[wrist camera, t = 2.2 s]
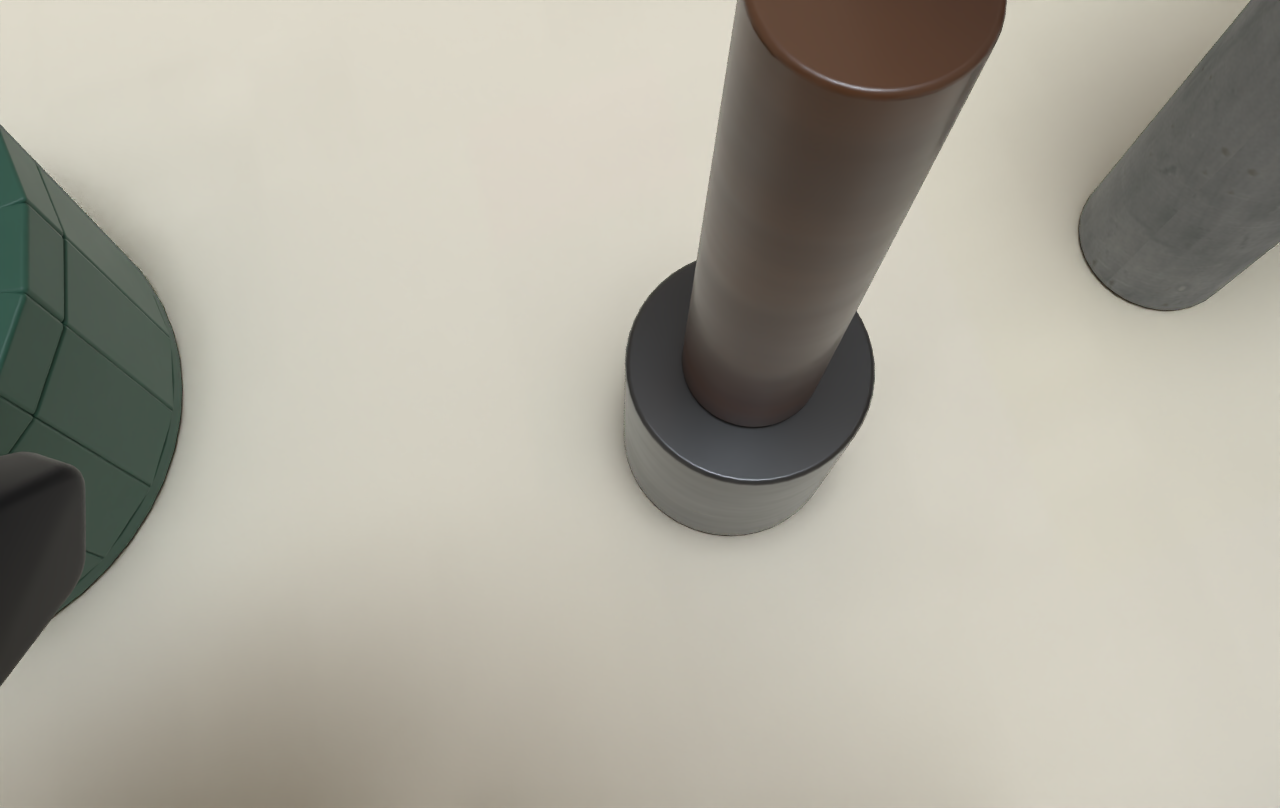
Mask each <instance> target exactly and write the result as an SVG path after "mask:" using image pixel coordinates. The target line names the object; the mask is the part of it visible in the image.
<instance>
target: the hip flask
mask: <svg viewBox="0 0 1280 808" xmlns="http://www.w3.org/2000/svg"><path fill="white" fill-rule="evenodd" d="M1079 236H1080V242H1081V247H1082V250H1083V253H1084V255H1085V258H1086V260H1087V262H1088V264H1089V265H1090V267H1091V269H1092V270H1093V272H1094V273H1095V274H1096V276H1097V277H1098V278H1099V279H1100V280H1101V281H1102V282H1103V283H1104V284H1105V285H1106V286H1107V287H1108V288H1110V289H1111V290H1112V291H1113V292H1115V293H1116V294H1117V295H1119V296H1121V297H1123V298H1124V299H1126V300H1128V301H1130V302H1132V303H1135V304H1138V305H1141V306H1144V307H1147V308H1153V309H1159V310H1178V309H1183V308H1188V307H1192V306H1194V305H1197V304H1199V303H1201V302H1204V301H1205V300H1207V299H1208V298H1209V297H1211V296H1212V295H1213V294H1215V293H1216V292H1217V291H1219V290H1220V289H1221V288H1222V287H1224V286H1225V285H1226V284H1227V283H1229V282H1230V281H1231V280H1232V279H1234V278H1235V277H1236V276H1237V275H1239V274H1240V273H1241V272H1242V271H1244V270H1245V269H1246V268H1247V267H1249V266H1250V265H1251V264H1252V263H1254V262H1255V261H1256V260H1257V259H1259V258H1260V257H1261V256H1262V255H1264V254H1265V253H1266V252H1267V251H1269V250H1270V249H1271V248H1272V247H1274V246H1275V245H1276V244H1277V243H1279V242H1280V0H1251V1H1250V2H1249V3H1248V4H1247V6H1246V7H1245V8H1244V9H1243V10H1242V12H1241V13H1240V14H1239V15H1238V17H1237V18H1236V19H1235V20H1234V21H1233V23H1232V24H1231V25H1230V26H1229V28H1228V29H1227V30H1226V31H1225V32H1224V34H1223V35H1222V36H1221V37H1220V38H1219V40H1218V41H1217V42H1216V43H1215V45H1214V46H1213V47H1212V48H1211V49H1210V51H1209V52H1208V53H1207V54H1206V56H1205V57H1204V58H1203V59H1202V60H1201V62H1200V63H1199V64H1198V65H1197V66H1196V68H1195V69H1194V70H1193V71H1192V73H1191V74H1190V75H1189V76H1188V77H1187V79H1186V80H1185V81H1184V82H1183V83H1182V85H1181V86H1180V87H1179V88H1178V90H1177V91H1176V92H1175V93H1174V94H1173V96H1172V97H1171V98H1170V99H1169V101H1168V102H1167V103H1166V104H1165V105H1164V107H1163V108H1162V109H1161V110H1160V111H1159V113H1158V114H1157V115H1156V116H1155V118H1154V119H1153V120H1152V121H1151V122H1150V124H1149V125H1148V126H1147V127H1146V129H1145V130H1144V131H1143V132H1142V133H1141V135H1140V136H1139V137H1138V138H1137V139H1136V141H1135V142H1134V143H1133V144H1132V146H1131V147H1130V148H1129V149H1128V150H1127V152H1126V153H1125V154H1124V155H1123V157H1122V158H1121V159H1120V160H1119V161H1118V163H1117V164H1116V165H1115V166H1114V167H1113V169H1112V170H1111V171H1110V172H1109V174H1108V175H1107V176H1106V177H1105V178H1104V180H1103V181H1102V182H1101V183H1100V185H1099V186H1098V187H1097V188H1096V189H1095V191H1094V192H1093V193H1092V194H1091V195H1090V197H1089V199H1088V200H1087V202H1086V204H1085V206H1084V207H1083V211H1082V214H1081V218H1080V226H1079Z"/></svg>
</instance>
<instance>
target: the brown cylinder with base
mask: <svg viewBox="0 0 1280 808" xmlns="http://www.w3.org/2000/svg"><path fill="white" fill-rule="evenodd" d="M1006 4H1007V0H737V4H736V11H735V17H734V23H733V30H732V36H731V43H730V49H729V56H728V62H727V69H726V75H725V81H724V88H723V94H722V101H721V107H720V114H719V120H718V126H717V133H716V139H715V146H714V152H713V159H712V165H711V171H710V178H709V184H708V191H707V197H706V204H705V210H704V217H703V223H702V229H701V236H700V242H699V249H698V255H697V261H694V262H692V263H690V264H688V265H686V266H684V267H682V268H681V269H679V270H677V271H676V272H674V273H673V274H671V275H670V276H669V277H668V278H666V279H665V280H664V281H663V282H661V283H660V284H659V285H658V286H657V288H656V289H655V290H654V291H653V292H652V293H651V294H650V295H649V297H648V298H647V299H646V301H645V302H644V304H643V305H642V306H641V308H640V310H639V312H638V314H637V316H636V318H635V320H634V322H633V325H632V328H631V331H630V333H629V337H628V342H627V347H626V358H625V395H624V443H625V450H626V455H627V459H628V462H629V465H630V468H631V471H632V473H633V475H634V477H635V479H636V481H637V483H638V484H639V486H640V487H641V489H642V490H643V492H644V493H645V494H646V496H647V497H648V498H649V499H650V500H651V501H652V502H653V503H654V504H655V505H656V506H657V507H658V508H659V509H660V510H661V511H663V512H664V513H665V514H666V515H668V516H669V517H671V518H673V519H674V520H676V521H677V522H679V523H681V524H683V525H686V526H688V527H690V528H693V529H696V530H699V531H702V532H706V533H711V534H716V535H731V536H732V535H745V534H750V533H755V532H760V531H762V530H765V529H768V528H771V527H773V526H775V525H777V524H779V523H781V522H783V521H785V520H786V519H788V518H789V517H791V516H792V515H794V514H795V513H796V512H797V511H798V510H799V509H800V508H802V507H803V506H804V505H805V504H806V503H807V501H808V500H809V499H810V498H811V497H812V495H813V494H814V493H815V491H816V490H817V489H818V487H819V486H820V484H821V483H822V482H823V480H824V479H825V477H826V476H827V475H828V473H829V472H830V470H831V469H832V468H833V466H834V465H835V463H836V462H837V461H838V459H839V458H840V456H841V455H842V454H843V452H844V451H845V449H846V448H847V447H848V445H849V444H850V442H851V441H852V440H853V438H854V437H855V435H856V433H857V432H858V430H859V429H860V427H861V425H862V424H863V421H864V419H865V417H866V415H867V412H868V410H869V407H870V403H871V399H872V396H873V390H874V382H875V363H874V356H873V350H872V346H871V342H870V339H869V336H868V333H867V331H866V328H865V326H864V324H863V322H862V319H861V318H860V316H859V314H858V313H857V309H858V307H859V305H860V303H861V301H862V299H863V297H864V295H865V293H866V291H867V289H868V288H869V286H870V284H871V282H872V280H873V278H874V276H875V274H876V272H877V270H878V268H879V266H880V265H881V263H882V261H883V259H884V257H885V255H886V253H887V251H888V249H889V247H890V245H891V243H892V242H893V240H894V238H895V236H896V234H897V232H898V230H899V228H900V226H901V224H902V222H903V220H904V219H905V217H906V215H907V213H908V211H909V209H910V207H911V205H912V203H913V201H914V199H915V197H916V196H917V194H918V192H919V190H920V188H921V186H922V184H923V182H924V180H925V178H926V176H927V174H928V173H929V171H930V169H931V167H932V165H933V163H934V161H935V159H936V157H937V155H938V153H939V151H940V150H941V148H942V146H943V144H944V142H945V140H946V138H947V136H948V134H949V132H950V130H951V128H952V127H953V125H954V123H955V121H956V119H957V117H958V115H959V113H960V111H961V109H962V107H963V105H964V104H965V102H966V100H967V98H968V96H969V94H970V92H971V90H972V88H973V86H974V84H975V82H976V81H977V79H978V77H979V75H980V73H981V71H982V69H983V67H984V65H985V63H986V61H987V59H988V58H989V56H990V54H991V52H992V50H993V48H994V46H995V44H996V42H997V40H998V37H999V35H1000V33H1001V31H1002V27H1003V23H1004V19H1005V14H1006Z"/></svg>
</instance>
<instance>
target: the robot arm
mask: <svg viewBox="0 0 1280 808" xmlns="http://www.w3.org/2000/svg"><path fill="white" fill-rule="evenodd" d="M85 557H86V508H85V481H84V478H83V476H82V474H81V472H80V471H79V470H78V469H77V468H76V467H74V466H73V465H71V464H68V463H65V462H62V461H58V460H55V459H52V458H49V457H46V456H43V455H40V454H37V453H32V452H16V453H11V454H7V455H2V456H0V686H1V685H2V684H3V682H4V681H5V680H6V678H7V677H8V676H9V674H10V673H11V672H12V670H13V669H14V668H15V666H16V665H17V664H18V662H19V661H20V660H21V659H22V657H23V656H24V655H25V653H26V652H27V651H28V649H29V648H30V647H31V645H32V644H33V643H34V641H35V640H36V639H37V637H38V636H39V635H40V633H41V632H42V631H43V630H44V628H45V627H46V626H47V624H48V623H49V622H50V620H51V619H52V618H53V616H54V615H55V614H56V612H57V611H58V610H59V608H60V607H61V606H62V604H63V603H64V602H65V600H66V599H67V598H68V597H69V595H70V594H71V592H72V591H73V589H74V588H75V586H76V585H77V583H78V581H79V579H80V577H81V574H82V571H83V568H84V564H85Z"/></svg>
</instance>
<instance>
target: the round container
mask: <svg viewBox="0 0 1280 808" xmlns="http://www.w3.org/2000/svg"><path fill="white" fill-rule="evenodd" d="M181 400H182V381H181V369H180V358H179V354H178V350H177V346H176V342H175V337H174V333H173V330H172V327H171V325H170V323H169V320H168V318H167V315H166V313H165V310H164V308H163V305H162V304H161V302H160V300H159V299H158V297H157V295H156V294H155V292H154V290H153V289H152V287H151V285H150V284H149V282H148V281H147V279H146V278H145V276H144V275H143V274H142V272H141V271H140V269H139V268H138V267H137V266H136V265H135V264H134V263H133V262H132V261H131V260H130V259H129V258H128V257H127V256H126V255H125V254H124V253H123V252H122V251H121V250H120V249H119V248H118V247H117V246H116V244H115V243H114V242H113V241H112V240H111V239H110V238H109V237H108V236H107V235H106V234H105V233H104V232H103V231H102V230H101V229H100V228H99V227H98V226H97V225H96V224H95V223H94V222H93V221H92V219H91V218H90V217H89V216H88V215H87V214H86V213H85V212H84V211H83V210H82V209H81V208H80V207H79V206H78V205H77V204H76V203H75V202H74V201H73V200H72V199H71V198H70V197H69V195H68V194H67V193H66V192H65V191H64V190H63V189H62V188H61V187H60V186H59V185H58V184H57V183H56V182H55V181H54V180H53V179H52V178H51V177H50V176H49V175H48V174H47V173H46V172H45V170H44V169H43V168H42V167H41V166H40V165H39V164H38V163H37V162H36V161H35V160H34V159H33V158H32V157H31V156H30V155H29V154H28V153H27V152H26V151H25V150H24V149H23V148H22V147H21V145H20V144H19V143H18V142H17V141H16V140H15V139H14V138H13V137H12V136H11V135H10V134H9V133H8V132H7V131H6V130H5V129H4V128H3V127H2V126H1V125H0V456H2V455H7V454H11V453H16V452H32V453H37V454H40V455H43V456H46V457H49V458H52V459H55V460H58V461H62V462H65V463H68V464H71V465H73V466H74V467H76V468H77V469H78V470H79V471H80V472H81V474H82V476H83V478H84V481H85V508H86V557H85V564H84V568H83V571H82V574H81V577H80V579H79V581H78V583H77V585H76V586H75V588H74V589H73V591H72V592H71V594H70V595H69V597H68V598H67V599H66V600H65V602H64V603H63V604H62V606H61V607H60V608H59V610H58V611H60V610H61V609H62V608H64V607H65V606H66V605H67V604H69V603H70V602H71V601H73V600H74V599H75V598H76V597H78V596H79V595H80V594H82V593H83V592H84V591H85V590H86V589H87V588H88V587H89V586H90V585H91V584H92V583H93V582H94V581H95V580H96V579H97V578H98V577H99V576H100V575H101V574H102V573H103V572H104V571H105V570H106V569H107V568H108V567H109V566H110V565H111V564H112V563H113V561H114V560H115V559H116V558H117V556H118V555H119V554H120V553H121V552H122V550H123V549H124V548H125V547H126V545H127V544H128V543H129V542H130V540H131V539H132V538H133V536H134V534H135V533H136V531H137V530H138V528H139V527H140V525H141V523H142V522H143V520H144V519H145V517H146V516H147V514H148V512H149V511H150V509H151V507H152V505H153V503H154V501H155V498H156V496H157V494H158V492H159V490H160V488H161V486H162V484H163V482H164V479H165V476H166V473H167V470H168V467H169V464H170V461H171V458H172V455H173V452H174V449H175V444H176V439H177V434H178V429H179V423H180V418H181ZM58 611H57V612H58ZM57 612H56V613H57Z"/></svg>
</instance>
